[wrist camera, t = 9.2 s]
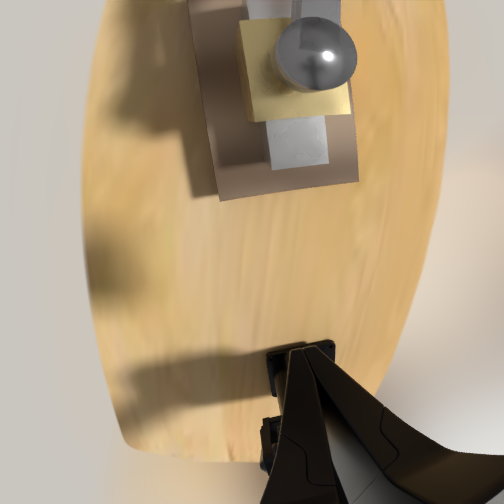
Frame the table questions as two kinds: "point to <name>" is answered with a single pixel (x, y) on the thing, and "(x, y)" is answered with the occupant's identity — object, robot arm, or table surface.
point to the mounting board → (248, 133)
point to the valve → (281, 92)
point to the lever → (314, 48)
